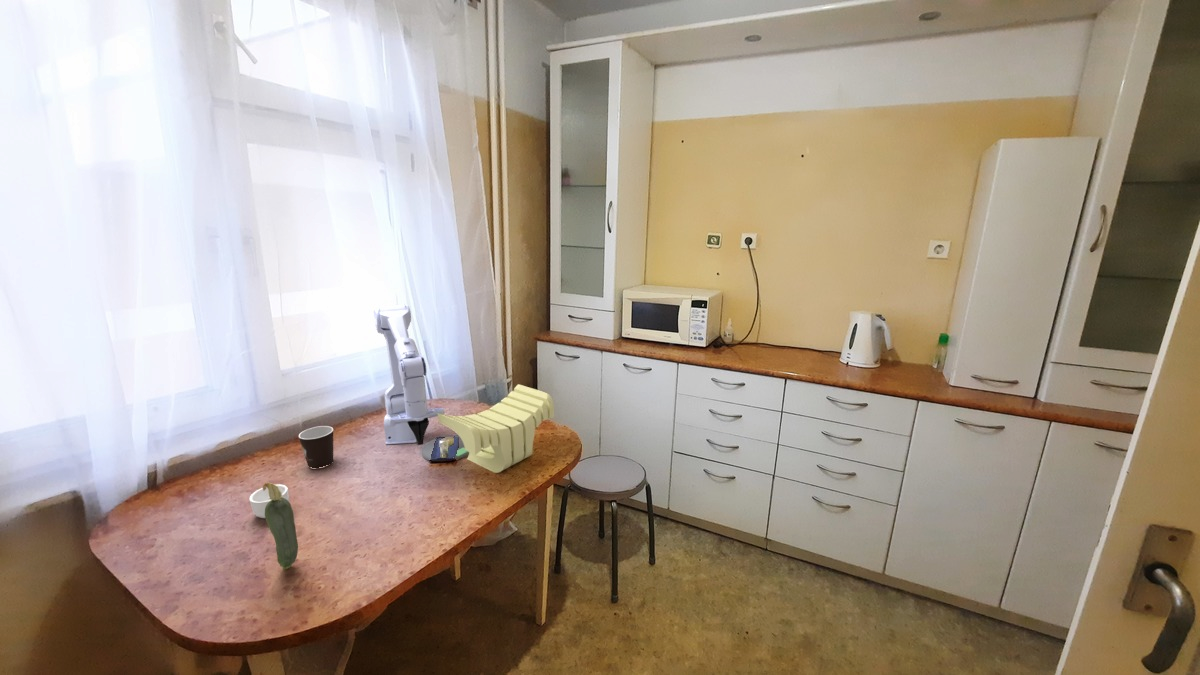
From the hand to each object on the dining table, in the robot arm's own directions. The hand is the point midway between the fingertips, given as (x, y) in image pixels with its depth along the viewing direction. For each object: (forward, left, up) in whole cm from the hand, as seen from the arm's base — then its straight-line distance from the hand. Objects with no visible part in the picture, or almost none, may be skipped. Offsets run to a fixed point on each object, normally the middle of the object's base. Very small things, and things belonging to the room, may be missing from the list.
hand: (419, 443), depth 131 cm
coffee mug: (-30, +8, -8) cm, 32 cm away
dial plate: (+6, +10, -7) cm, 14 cm away
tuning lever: (+6, +6, -6) cm, 11 cm away
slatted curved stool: (+23, +1, -8) cm, 24 cm away
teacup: (-32, -16, -8) cm, 37 cm away
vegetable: (-18, -38, -8) cm, 43 cm away
